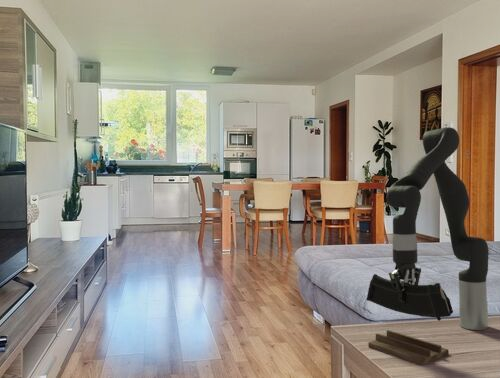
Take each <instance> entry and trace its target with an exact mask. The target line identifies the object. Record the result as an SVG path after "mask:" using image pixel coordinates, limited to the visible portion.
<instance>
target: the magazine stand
mask: <svg viewBox="0 0 500 378" xmlns="http://www.w3.org/2000/svg"><path fill="white" fill-rule="evenodd" d="M367 344H368V348H370V347H371V348H370V349H373V348H374V349H373V350H376V349H377V351H379V352H382V353H384V354H385V353H386V354H388V355H391V356H394V357H396V358H399V359H402V360H405V361H408V362H411V363H415V364H416V365H420V366H423V365H425V364H427V363H431V362H433V361H435V360H439V359H440V358H442V357H446V356H447V355H449V349H448V348H444V347H442V345H440V344H436V343H434V342H431V341H427V340H423V339H420V338H416V337H413V336H410V335H406V334H403V333H399V332H397V331H392V330H390V329H388V330H386V335H384V334H381V333H375V340H371V341H368V343H367Z"/></svg>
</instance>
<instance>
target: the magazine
mask: <svg viewBox="0 0 500 378" xmlns="http://www.w3.org/2000/svg"><path fill="white" fill-rule="evenodd" d="M396 285H397V284H396ZM368 286H369V287H368V289H367V295H366V296H367V297H366V301H369V302H371V303H374V304H376V305H378V306H381V307H383V308H386V309H388V310H391V311H395V312H399V313H402V314H405V315H406V314H407V315H411V316H419V317H424V318H425V317H427V318H435V319H437V321H441V320H442V318H449V317H451V315H452V314H453V313H454V311H453V307H452V303H451V300H450V298H449V297H448V295H447V294H446V292H445V290H444V289H443V288H442V286H441V283H440V282H436V283H434V284H427V285H426V284H425V285H424V284H423V285H422V284H418V285H411V284H406V289H405V291H406V302H405V303H402V302H399V299H398V290H397V289H394V288H393V286H392V282H391V279H386V278H384V277H382V276H380V275H378V274H376V273H373V275H372V277H371V279H370V281H369V285H368ZM401 286H402V283H401Z"/></svg>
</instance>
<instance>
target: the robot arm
mask: <svg viewBox="0 0 500 378" xmlns="http://www.w3.org/2000/svg"><path fill="white" fill-rule="evenodd" d="M422 145H423V149H424V153H425V155H424V156H422V157H420V158H419V159H418V160H417V161H415V162H414V163H413V164H412V166H411V165H410V168H409V169H408V171H407V172H406V173H405V175H404V176H402V177H401V178H399V179H398V180H396V182H394V183H393V184H391V186H390V187H389V188H388V190H387V192H386V202H387V204H388V205H389V206H390V207H393V208H400V209H402V208H404V211H403V213H402V214H398V215H395V216H393V218H392V242H391V243H392V261H393V263H394V264H395V266H394V267H395V268H394V270H393V271H389V273H388V275H389V276H388V277H389V278H390V279H389V280H391V282H392V286H393V288H394V289H397V290H398V299H399V302H402V303H405V302H406V291H405V289H406V284H411V285H419V282H420V278H421V274H422V273H421V272H422V268H420V267H417V266H416V263H418V239H417V229H416V228H417V226H416V225H417V222H416V221H417V216H418V214H419V213H418V212H419V209H420V205H421V202H422V201H421V200H422V195H421V194H422V193H421V190H422V189H423V188H424V187H425V185H426V184H427V182H429V180H430V178H431V177H432V175H433V176H434V179H435V182H436V186H437V190H438V193H439V198H440V201H441V204H442V208H443V211H444V213H445V217H446V222H447V223H446V224H447V226H448V232H449V236H450V242H451V244H450V245H451V248H452V252H453V255H454V256H455V258H456V259H458V260H460V261H463V262H469V267H468V268H467V269H464V270H461V271H459V272H458V301H459V302H458V304H459V305H458V306H459V326H460V327H462V328H463V329H468V330H472V331H473V330H474V331H484V330H487V329H488V326H489V311H488V310H489V309H488V299H487V296H488V295H487V294H488V293H487V275H488V273H489V245H488V243H487V241H486V240H485V239H484V238H482V237H477V236H476V237H475V236H468V233H467V231H466V228H465V227H466V226H465V219H466V217H467V214H468V211H469V208H470V198H469V194H468V191H467V187H466V185H465V183H464V181H463V180H461V178H460V177H459V176H458V175H457V174H456V173H454V171H453V170H451V169H450V168H449V166H448V165H447V163H446V161H447V159H449V158H450V157H451V156H452V155H453V154H454V153H455V152H456V151H457V149H458V148H459V145H460V136H459V133H458V131H457V130H456V128H453V127H449V126H448V127H441V128H436V129H432V130H428V131H425V132H424V134H423V135H422ZM401 283H402V286H401ZM396 284H397V285H396Z"/></svg>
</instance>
